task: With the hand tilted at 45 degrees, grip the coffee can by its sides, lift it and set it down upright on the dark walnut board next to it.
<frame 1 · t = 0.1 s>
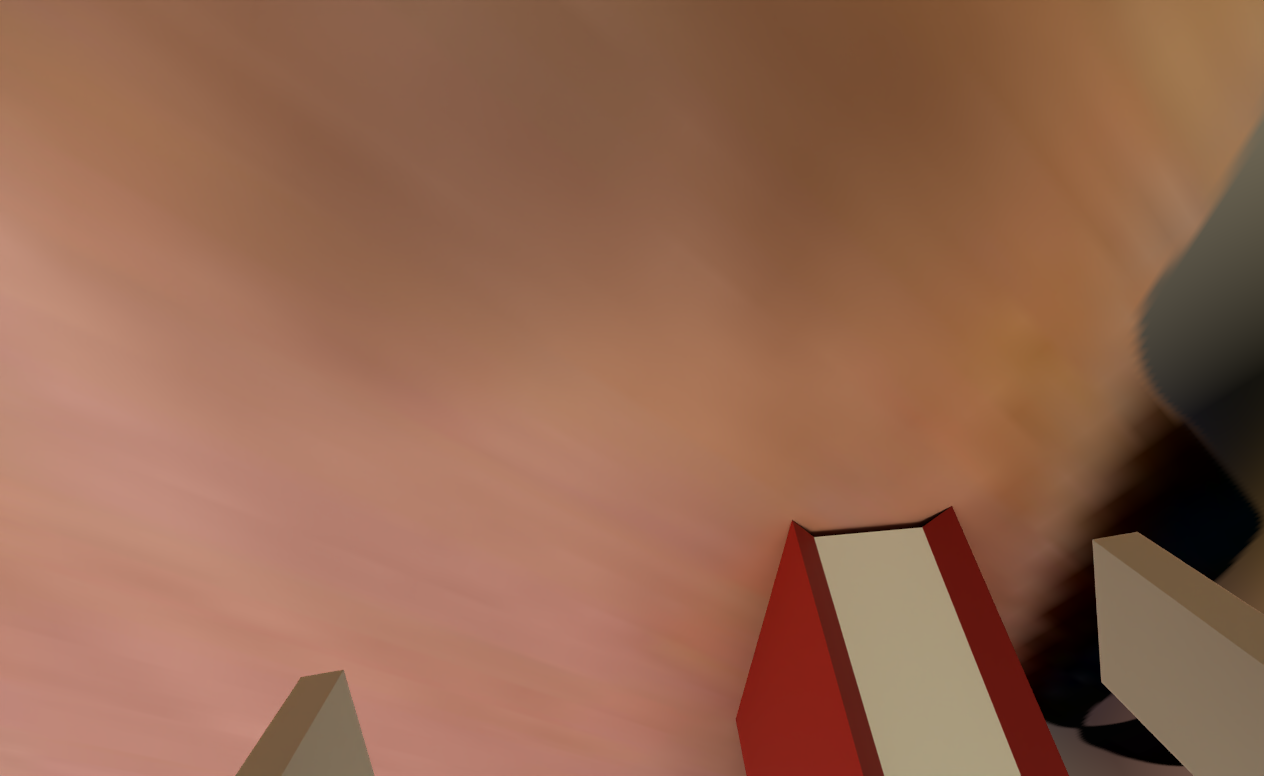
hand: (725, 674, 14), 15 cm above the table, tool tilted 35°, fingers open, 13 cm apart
book: (820, 634, 51), on the table
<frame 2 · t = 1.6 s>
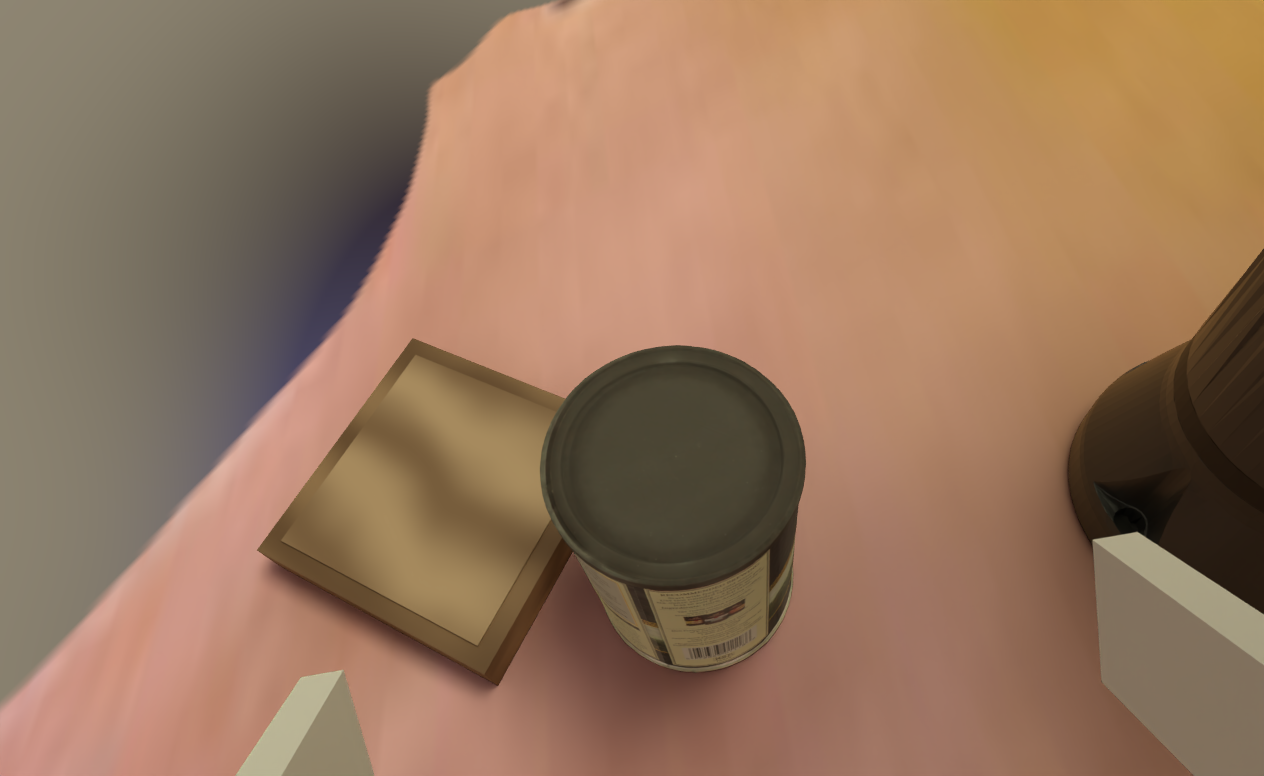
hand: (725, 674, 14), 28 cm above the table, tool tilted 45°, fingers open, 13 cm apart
coffee can: (693, 574, 44), on the table
walnut board: (457, 503, 48), on the table
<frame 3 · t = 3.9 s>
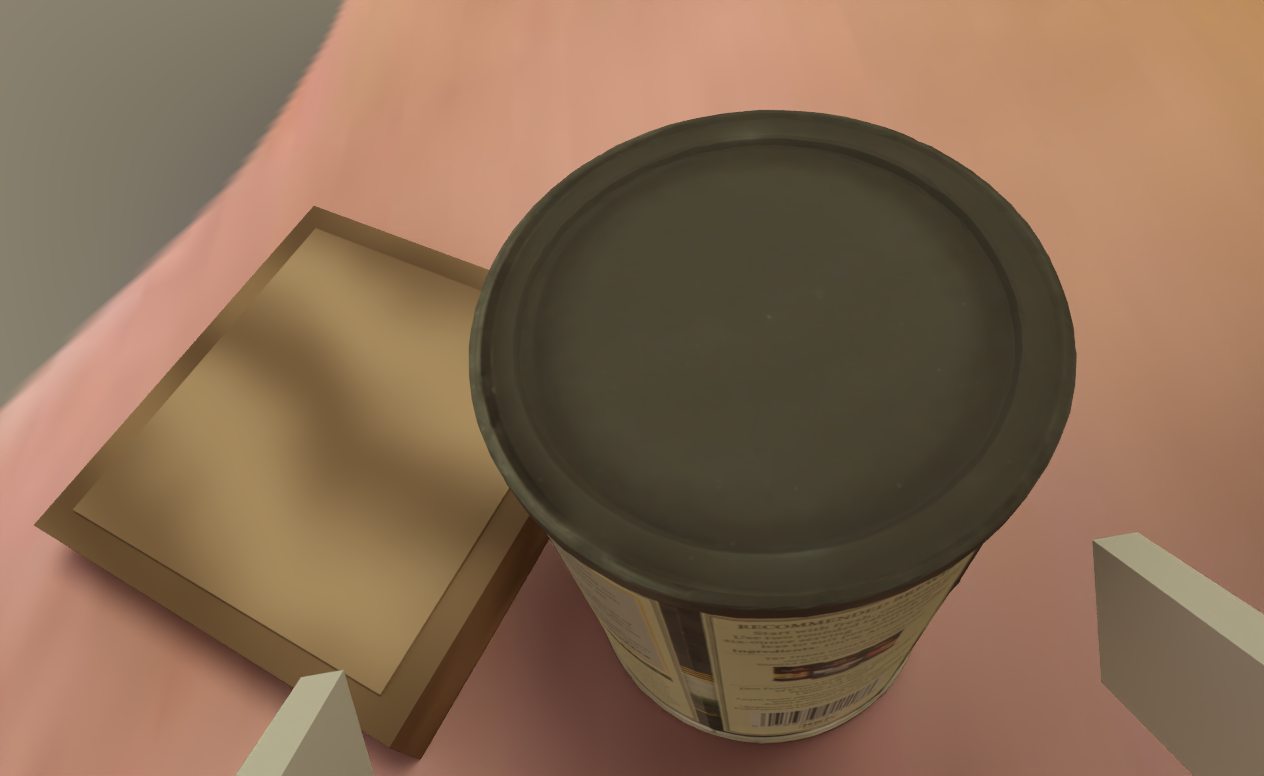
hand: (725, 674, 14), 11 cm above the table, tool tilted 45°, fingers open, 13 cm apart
coffee can: (752, 572, 27), on the table
walnut board: (372, 456, 30), on the table
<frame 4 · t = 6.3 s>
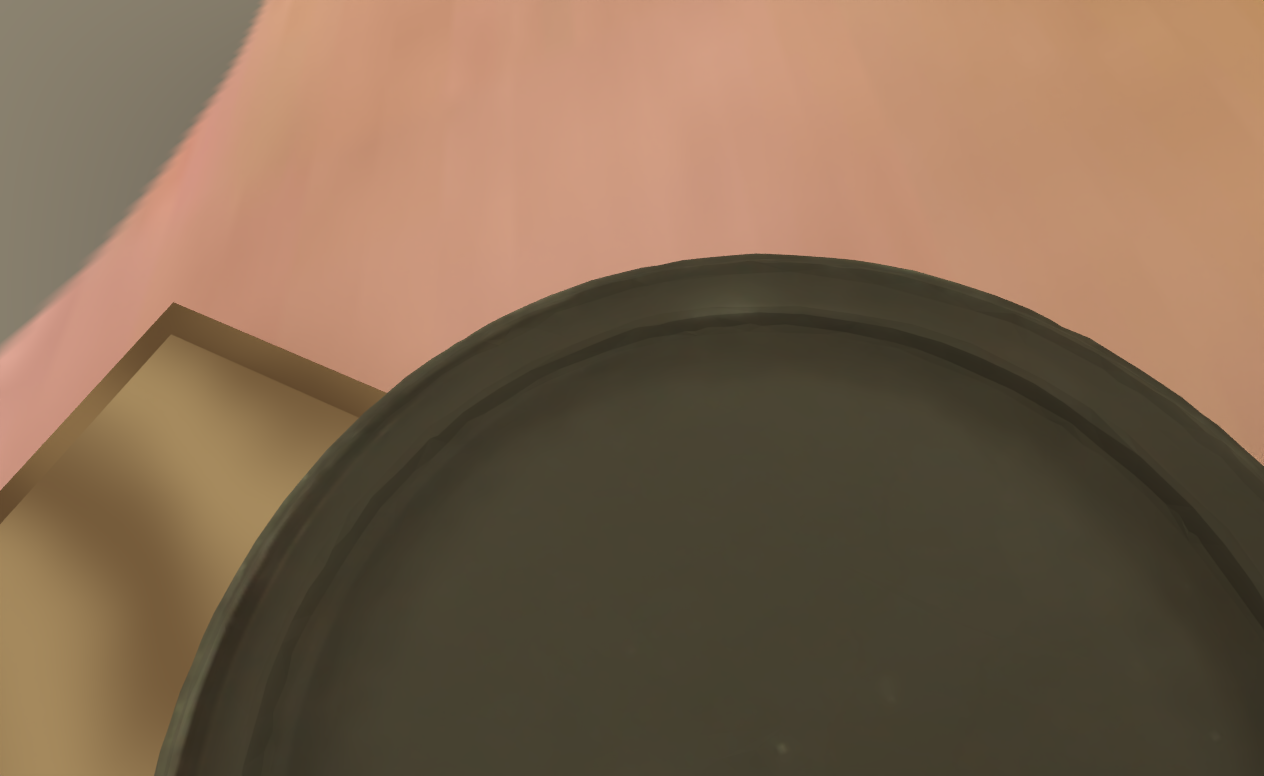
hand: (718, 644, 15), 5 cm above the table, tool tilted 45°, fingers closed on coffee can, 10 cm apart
walnut board: (233, 652, 22), on the table
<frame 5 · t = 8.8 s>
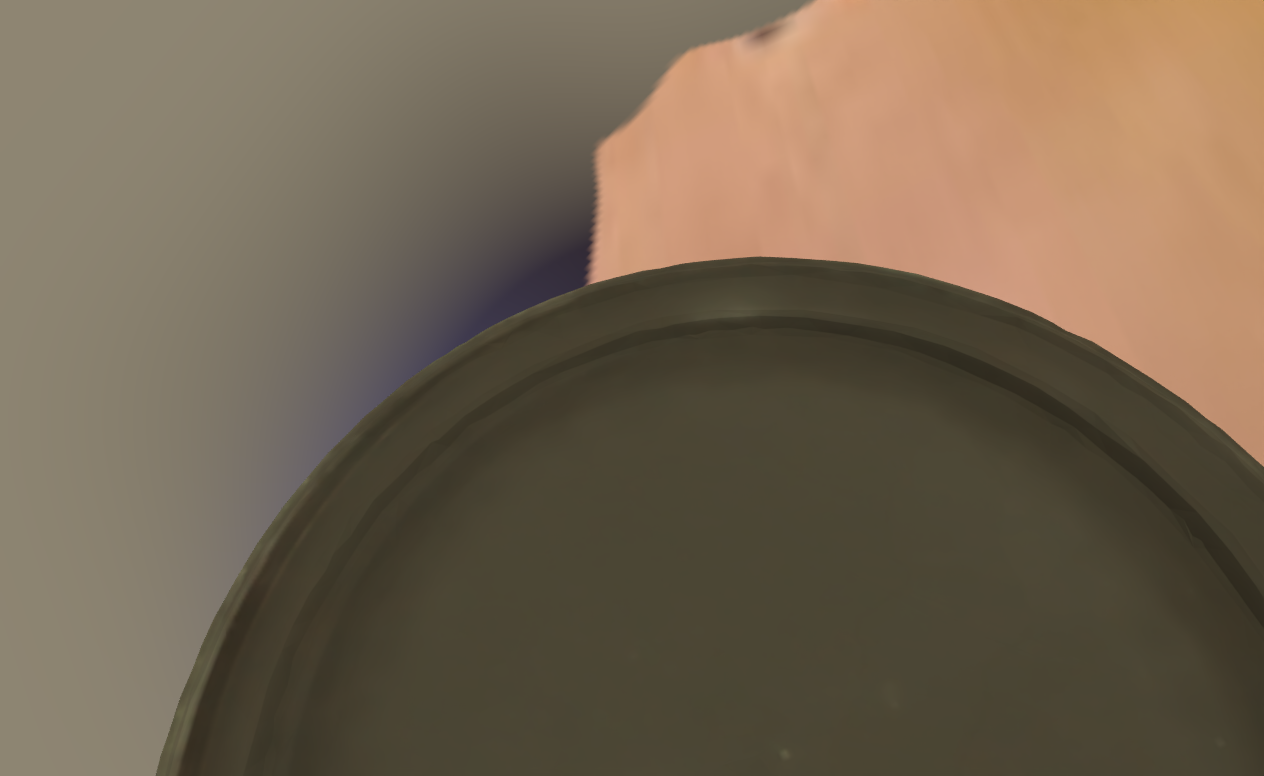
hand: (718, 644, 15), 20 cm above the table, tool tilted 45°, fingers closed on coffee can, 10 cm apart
when the fingers open (9 cm above the table, at t = 11.3 s): coffee can drops 1 cm, resting on walnut board.
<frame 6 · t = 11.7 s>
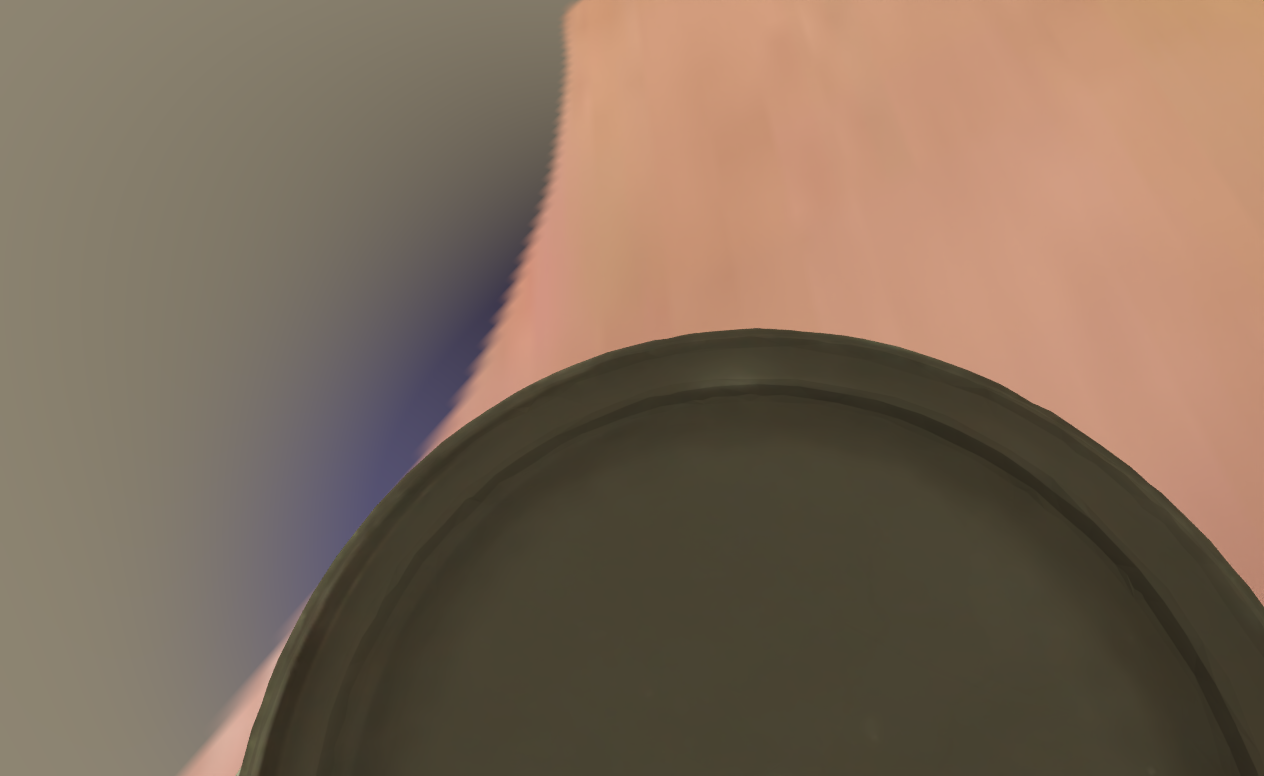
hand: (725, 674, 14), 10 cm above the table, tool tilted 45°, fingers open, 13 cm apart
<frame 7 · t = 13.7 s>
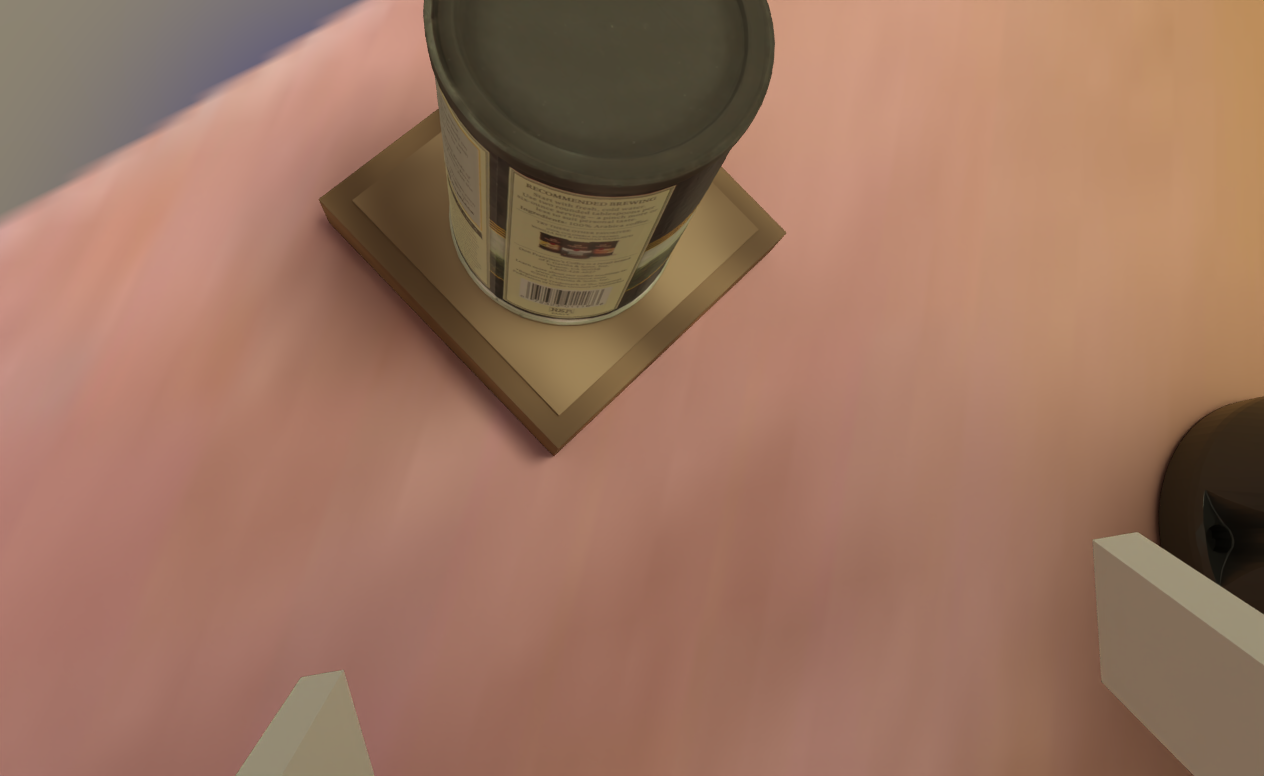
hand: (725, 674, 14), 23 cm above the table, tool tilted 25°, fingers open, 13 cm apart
coffee can: (562, 219, 38), point 2 cm above the table, touching walnut board
walnut board: (558, 237, 40), on the table
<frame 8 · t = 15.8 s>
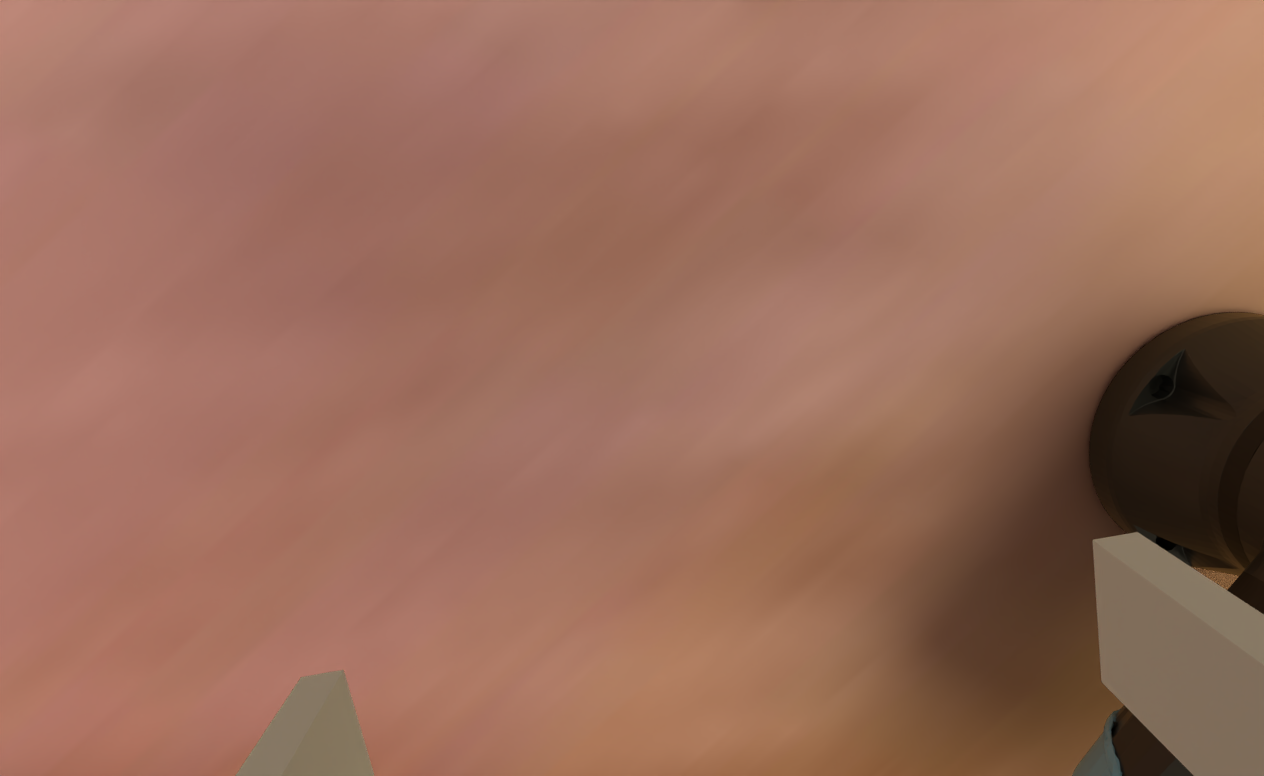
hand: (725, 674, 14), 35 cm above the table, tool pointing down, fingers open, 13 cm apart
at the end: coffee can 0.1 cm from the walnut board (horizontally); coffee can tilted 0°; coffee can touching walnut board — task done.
